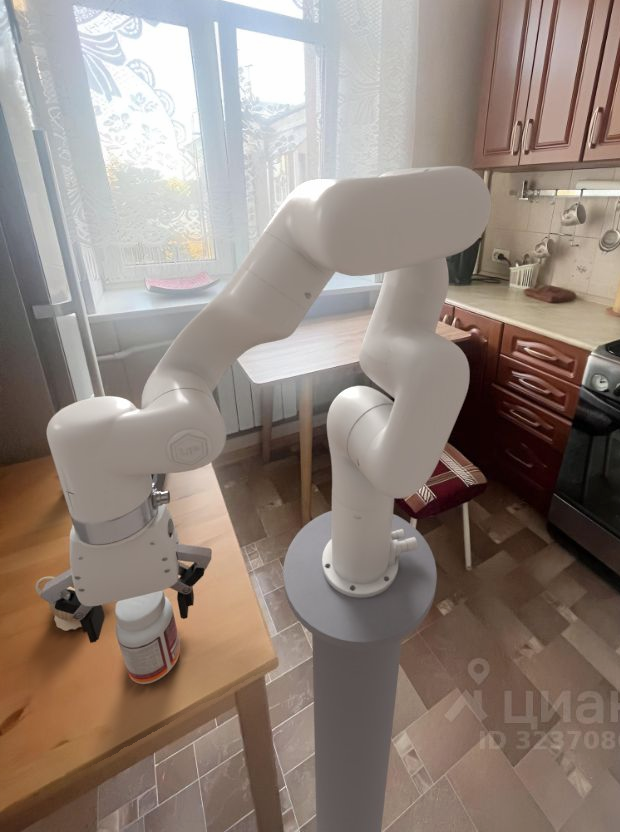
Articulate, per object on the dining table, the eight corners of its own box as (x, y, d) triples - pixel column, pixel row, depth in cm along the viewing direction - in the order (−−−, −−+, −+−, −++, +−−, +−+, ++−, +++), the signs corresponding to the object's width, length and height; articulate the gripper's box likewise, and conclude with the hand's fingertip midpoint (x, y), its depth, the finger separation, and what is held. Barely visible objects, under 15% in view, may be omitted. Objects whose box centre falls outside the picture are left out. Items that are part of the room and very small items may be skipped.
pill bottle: (163, 625, 55) (149, 567, 51) (190, 652, 52) (178, 592, 48) (118, 666, 50) (99, 605, 46) (145, 698, 47) (127, 636, 43)
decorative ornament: (75, 640, 53) (65, 613, 51) (39, 612, 56) (28, 586, 54) (104, 613, 56) (96, 587, 54) (69, 588, 60) (60, 563, 58)
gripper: (204, 473, 48) (218, 574, 54) (34, 500, 42) (71, 609, 49) (201, 519, 41) (217, 628, 47) (-1, 558, 36) (47, 674, 42)
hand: (143, 618), depth 48 cm, fingers open, 9 cm apart
